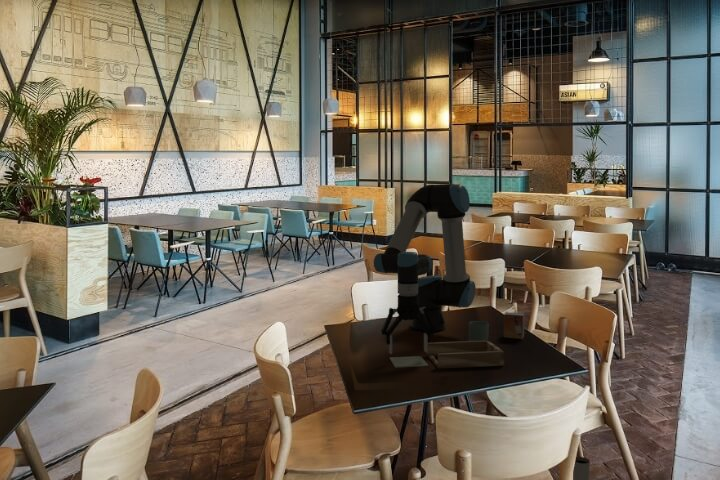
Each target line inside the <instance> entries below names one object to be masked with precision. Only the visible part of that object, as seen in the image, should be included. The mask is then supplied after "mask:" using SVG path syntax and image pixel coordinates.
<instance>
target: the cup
mask: <svg viewBox="0 0 720 480" xmlns="http://www.w3.org/2000/svg"><path fill="white" fill-rule="evenodd" d="M489 329H490V328H489V323H488V322H487V321H482V320H473V321H472V320H471V321H469V322H468V341H482V340H488V341H489Z"/></svg>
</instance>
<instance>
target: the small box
mask: <svg viewBox="0 0 720 480" xmlns="http://www.w3.org/2000/svg"><path fill="white" fill-rule="evenodd" d="M503 317H504V318H503V338H506V339H507V338H508V339H515V340H516V339H519V340H523V339H524V337H525V317H526V316H525V312H523V313H522V312H509V311H505V313H504V314H503Z"/></svg>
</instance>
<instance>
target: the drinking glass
mask: <svg viewBox="0 0 720 480" xmlns="http://www.w3.org/2000/svg"><path fill="white" fill-rule="evenodd" d="M575 457H576V462H575V467H574V470H573V480H589V477H590V459H588V458H587V457H583V456H575Z"/></svg>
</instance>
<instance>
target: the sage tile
mask: <svg viewBox="0 0 720 480" xmlns="http://www.w3.org/2000/svg"><path fill="white" fill-rule="evenodd" d="M389 360H390V362H391V364H392V365H393V366H394V368H395V369H396V368H400V369H401V368H415V367H416V368H417V367H428V366H429V364H428V363H427V361H425V360H424V358H423V357H422V356H421V355H413V356H395V357H394V356H393V357H392V356H391V357H389Z"/></svg>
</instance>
